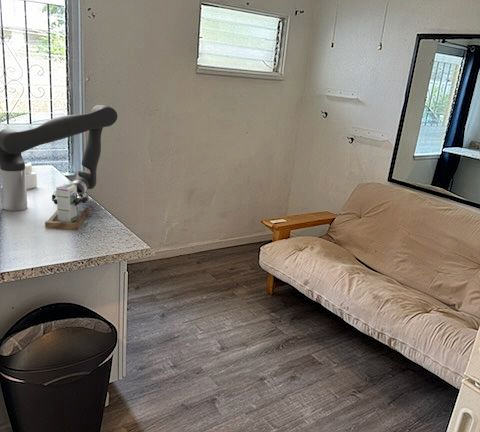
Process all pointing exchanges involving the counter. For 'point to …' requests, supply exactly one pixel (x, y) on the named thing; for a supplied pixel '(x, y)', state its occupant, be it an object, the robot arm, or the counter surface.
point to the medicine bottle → (30, 176)
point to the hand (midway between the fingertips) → (65, 202)
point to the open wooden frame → (68, 225)
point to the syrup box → (66, 202)
